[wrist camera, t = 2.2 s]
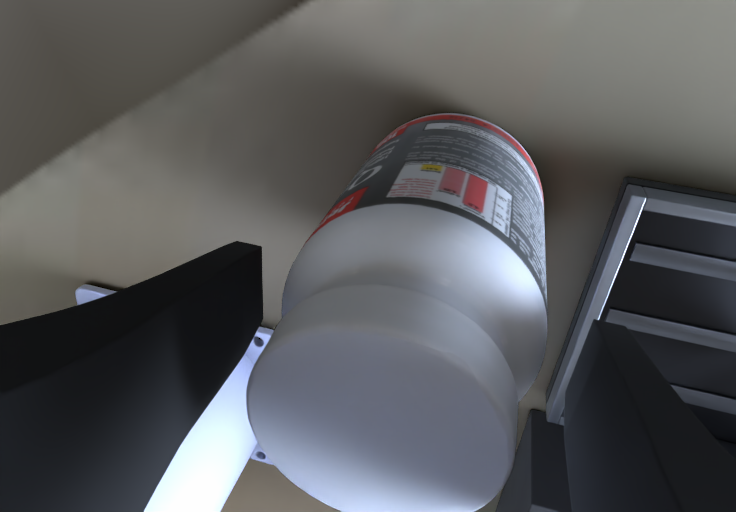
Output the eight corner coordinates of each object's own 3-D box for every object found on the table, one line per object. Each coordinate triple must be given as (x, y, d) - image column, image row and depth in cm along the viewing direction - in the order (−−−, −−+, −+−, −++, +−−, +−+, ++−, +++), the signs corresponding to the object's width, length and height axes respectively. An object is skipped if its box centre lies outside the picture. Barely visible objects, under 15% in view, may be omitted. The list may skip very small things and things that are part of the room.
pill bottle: (377, 89, 16) (214, 248, 8) (569, 130, 15) (614, 356, 7) (353, 251, 19) (218, 487, 11) (513, 292, 18) (497, 582, 10)
